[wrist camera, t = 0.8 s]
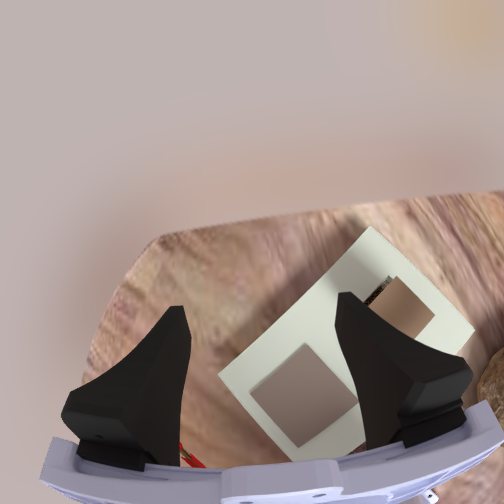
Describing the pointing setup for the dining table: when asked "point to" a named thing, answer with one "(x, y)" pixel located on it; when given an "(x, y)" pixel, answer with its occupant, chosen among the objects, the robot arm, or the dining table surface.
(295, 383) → the board
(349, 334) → the robot arm
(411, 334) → the block
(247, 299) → the dining table surface
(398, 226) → the dining table surface
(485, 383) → the rock
